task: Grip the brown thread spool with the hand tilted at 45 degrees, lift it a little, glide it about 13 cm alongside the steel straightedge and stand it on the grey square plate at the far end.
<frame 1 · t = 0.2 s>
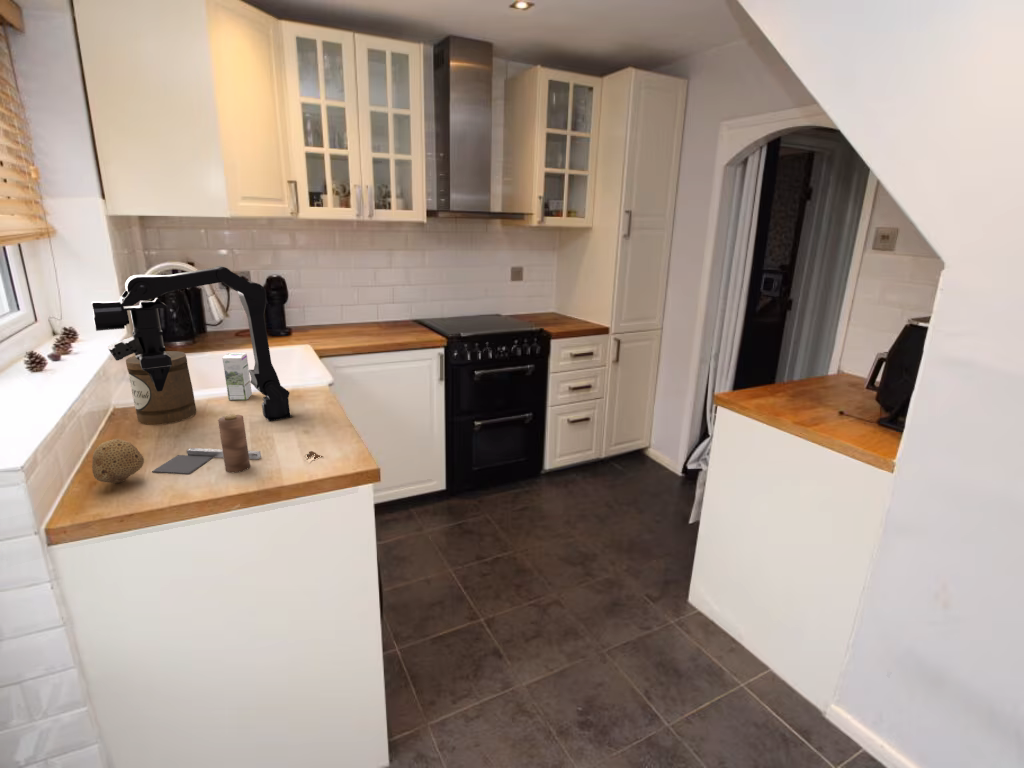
hand: (157, 386, 138), 15 cm above the table, tool pointing down, fingers open, 9 cm apart
wooden container: (168, 416, 159), on the table
grey square plate: (183, 464, 128), on the table
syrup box: (240, 398, 176), on the table
natural sponge: (123, 482, 119), on the table
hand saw: (296, 449, 139), on the table
steel straightedge: (224, 456, 133), on the table
brown thread spool: (237, 467, 127), on the table
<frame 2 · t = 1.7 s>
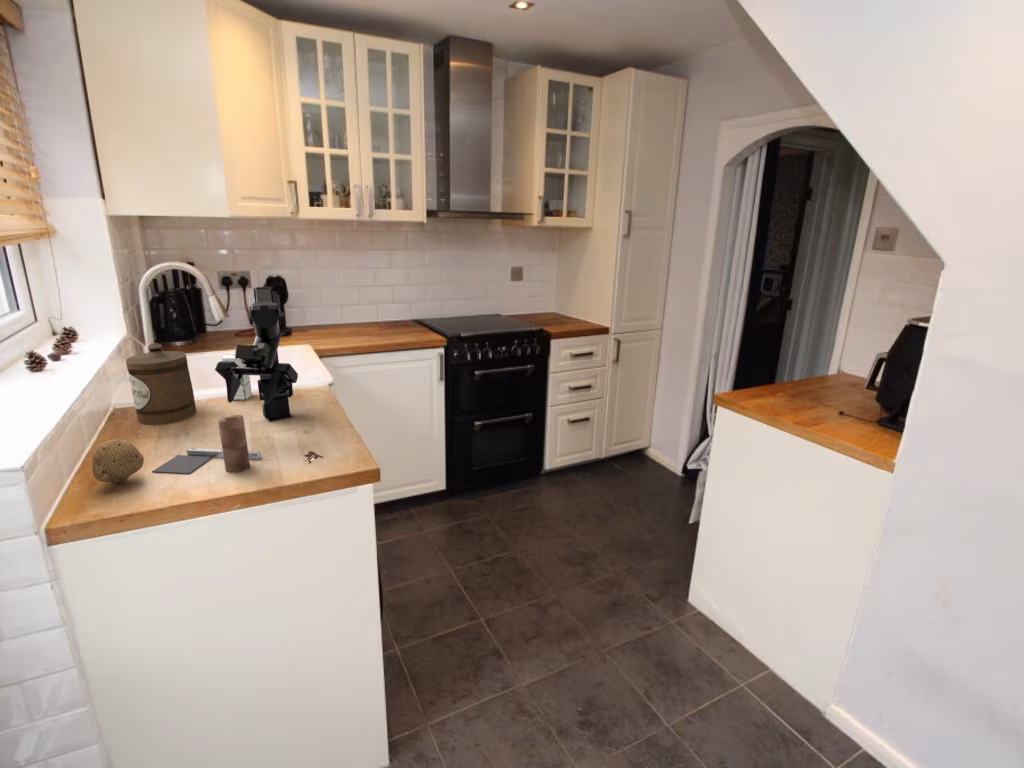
hand: (247, 402, 131), 13 cm above the table, tool tilted 45°, fingers open, 9 cm apart
nothing on the table moved.
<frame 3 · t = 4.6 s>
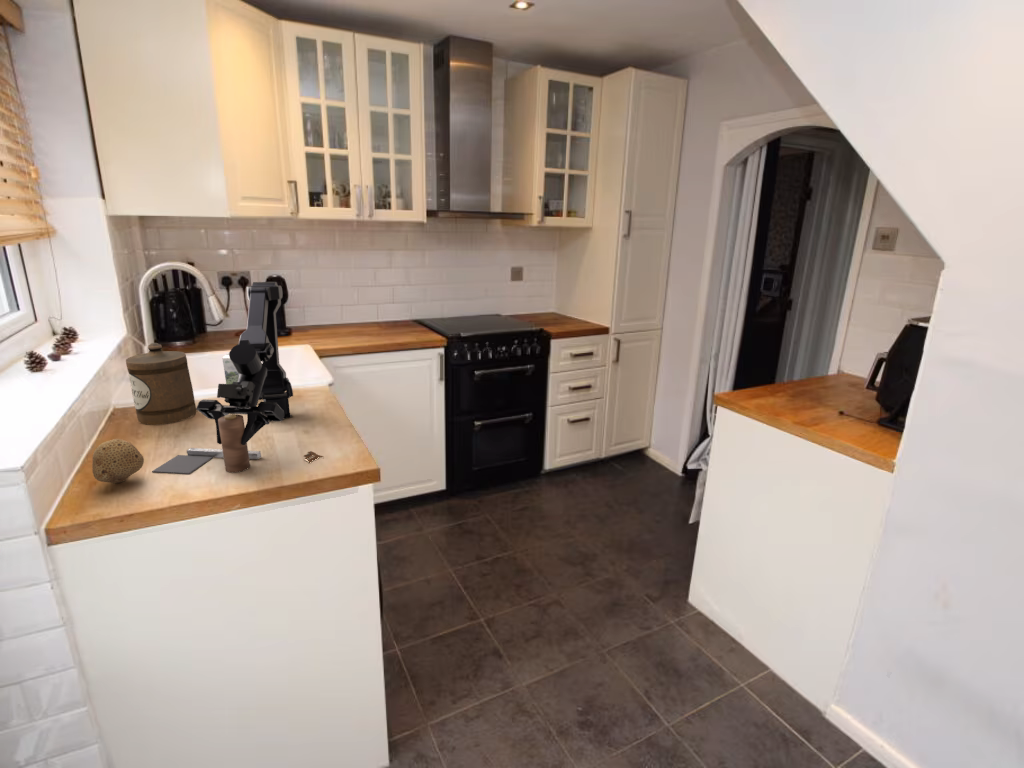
hand: (230, 444, 124), 7 cm above the table, tool tilted 45°, fingers closed on brown thread spool, 5 cm apart
brown thread spool: (237, 467, 127), on the table, touching gripper
everything else where it was.
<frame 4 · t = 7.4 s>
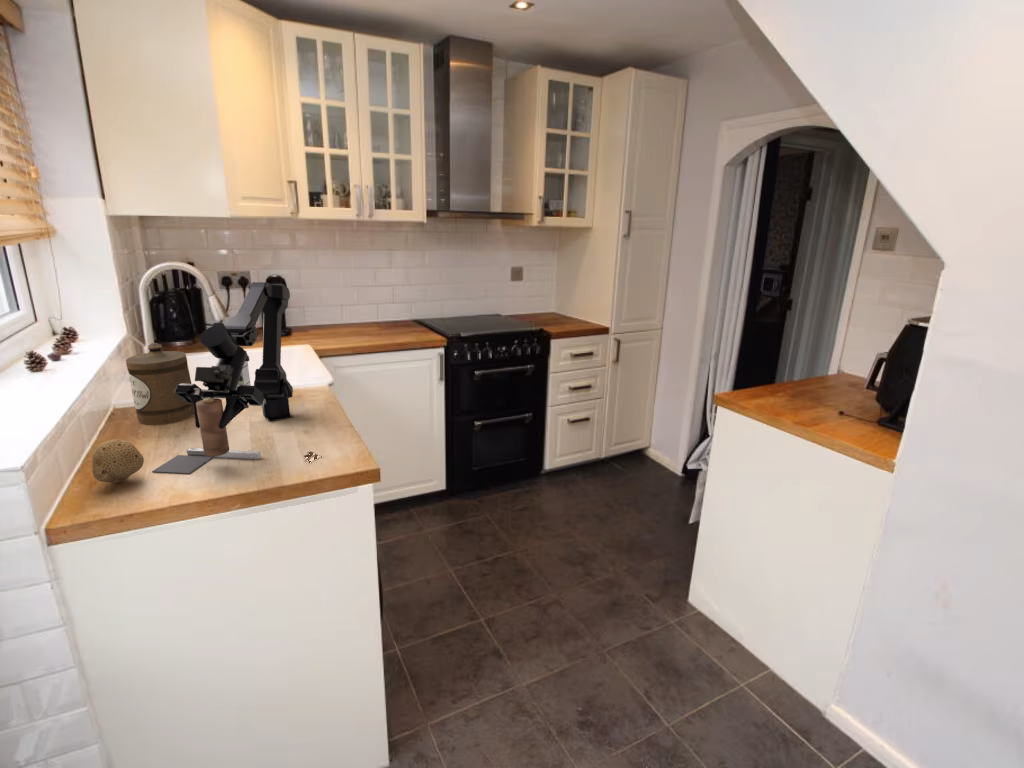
hand: (209, 427, 123), 10 cm above the table, tool tilted 45°, fingers closed on brown thread spool, 5 cm apart
brown thread spool: (217, 451, 126), point 4 cm above the table, touching gripper
everything else where it was.
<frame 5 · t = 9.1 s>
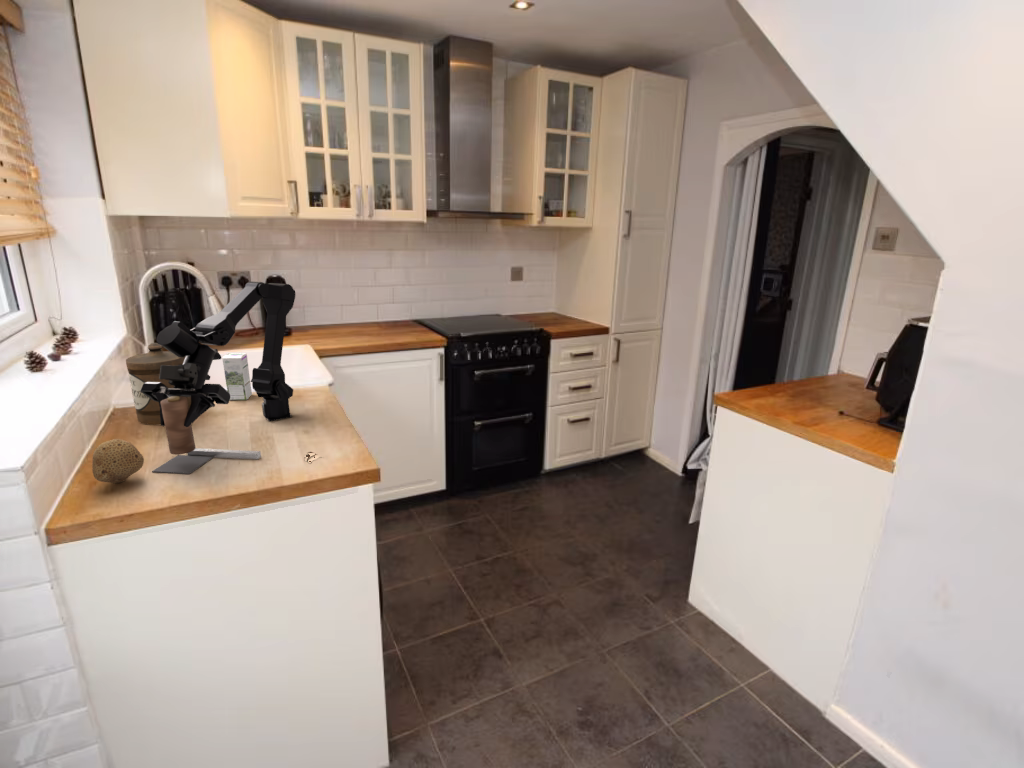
hand: (174, 426, 123), 10 cm above the table, tool tilted 45°, fingers closed on brown thread spool, 5 cm apart
brown thread spool: (182, 449, 127), point 4 cm above the table, touching gripper
everything else where it was.
when the fingers open (8 cm above the table, at t = 10.6 s): brown thread spool stays where it is, resting on grey square plate.
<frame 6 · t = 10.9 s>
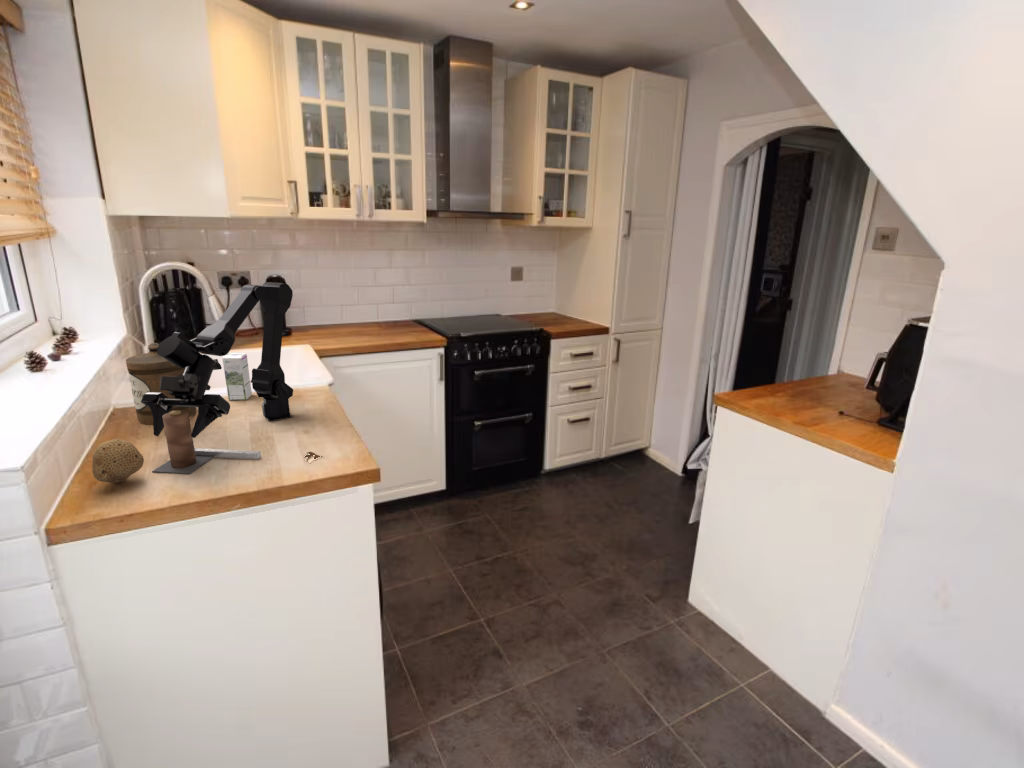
hand: (174, 436, 124), 8 cm above the table, tool tilted 45°, fingers open, 9 cm apart
brown thread spool: (183, 463, 128), resting on grey square plate
everything else where it was.
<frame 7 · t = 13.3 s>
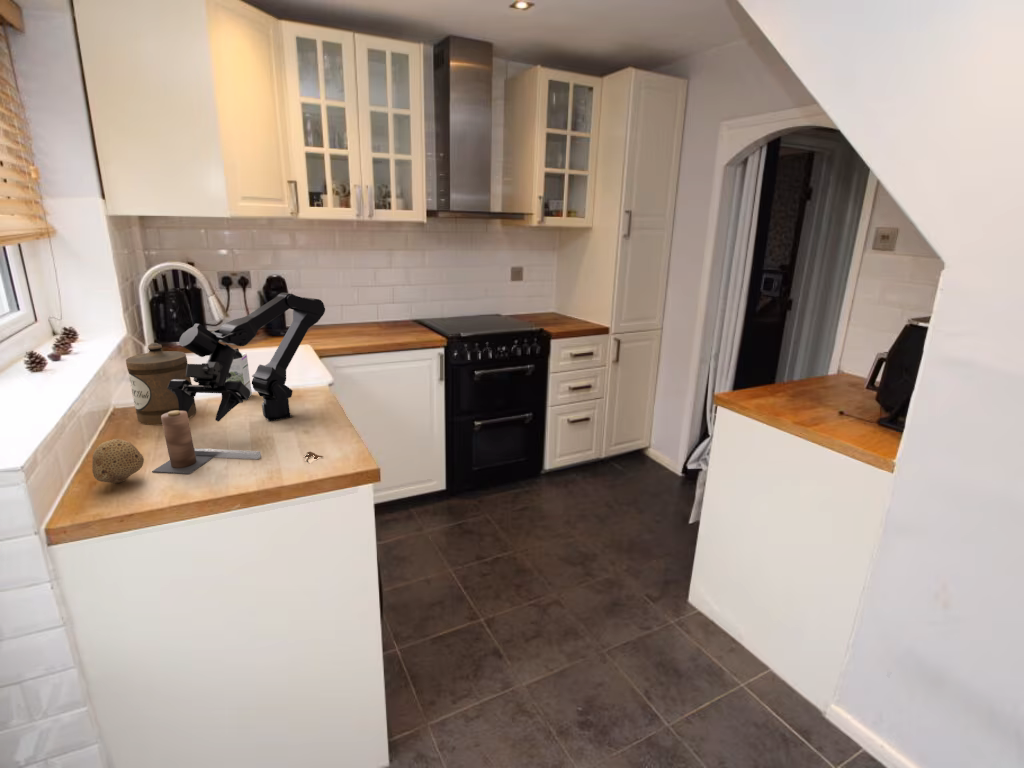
hand: (199, 420, 133), 8 cm above the table, tool tilted 45°, fingers open, 9 cm apart
nothing on the table moved.
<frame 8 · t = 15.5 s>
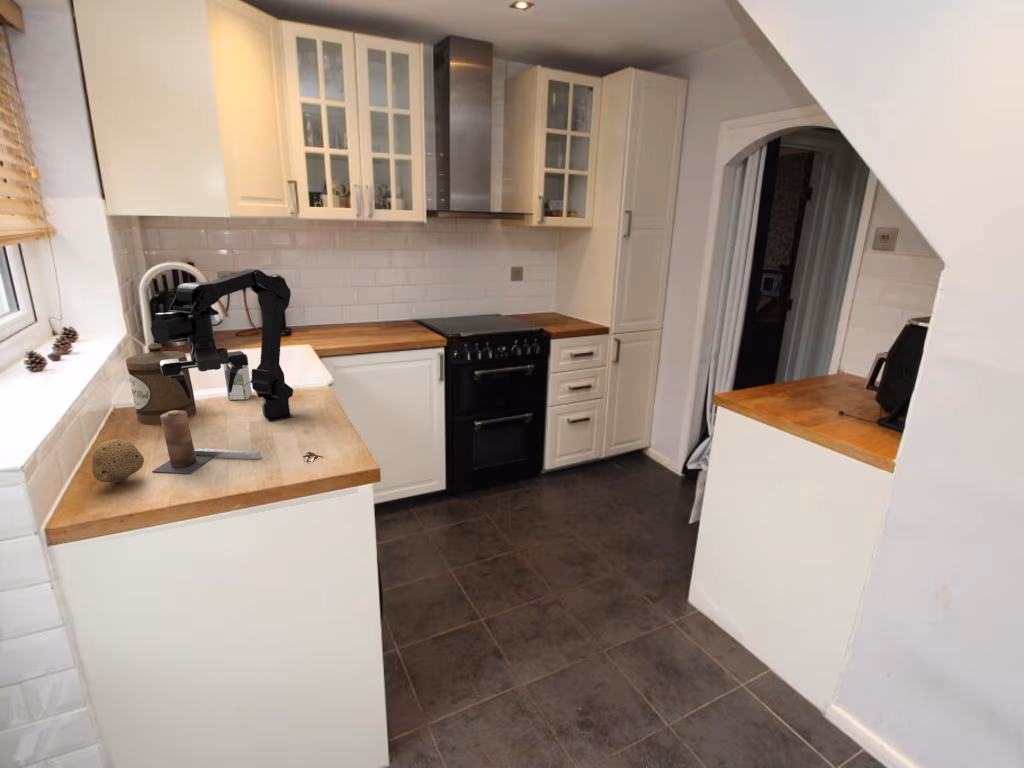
hand: (210, 395, 137), 13 cm above the table, tool pointing down, fingers open, 9 cm apart
at the end: brown thread spool 0.1 cm off-centre on the grey square plate, point 0.4 cm above the grey square plate's base; brown thread spool tilted 1°; the gripper is holding nothing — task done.
